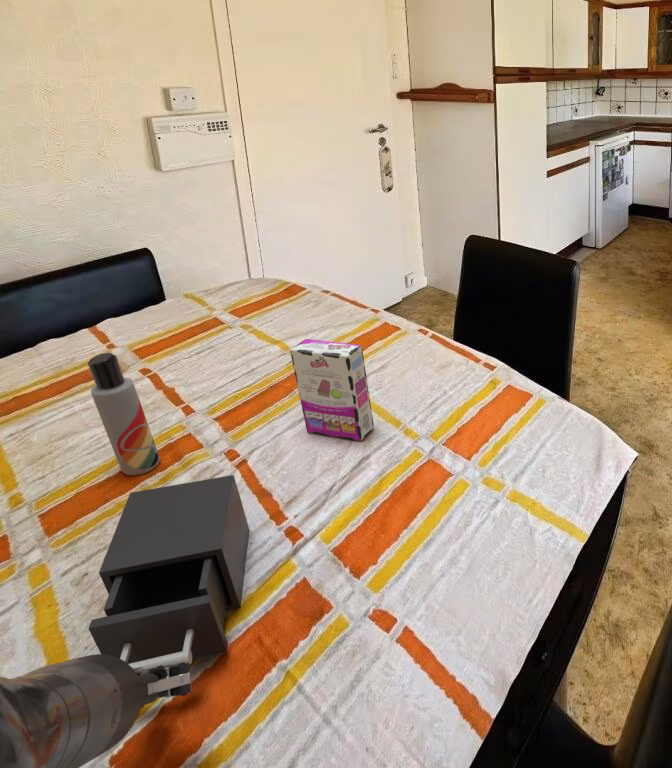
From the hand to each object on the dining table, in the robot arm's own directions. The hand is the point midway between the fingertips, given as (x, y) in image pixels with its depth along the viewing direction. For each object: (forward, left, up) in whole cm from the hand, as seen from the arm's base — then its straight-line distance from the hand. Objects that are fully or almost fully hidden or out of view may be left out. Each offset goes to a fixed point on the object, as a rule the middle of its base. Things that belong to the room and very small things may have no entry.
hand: (149, 680), depth 62 cm
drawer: (0, +10, -4) cm, 11 cm away
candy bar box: (+20, +50, -5) cm, 54 cm away
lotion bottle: (-12, +49, -5) cm, 50 cm away
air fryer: (0, +20, -5) cm, 20 cm away
